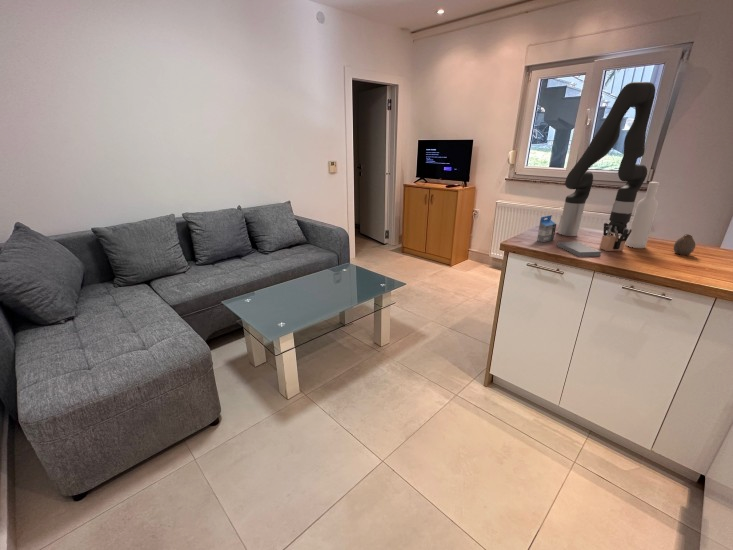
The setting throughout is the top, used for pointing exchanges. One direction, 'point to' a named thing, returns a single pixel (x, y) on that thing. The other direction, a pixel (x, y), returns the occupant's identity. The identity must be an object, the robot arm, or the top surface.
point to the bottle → (643, 218)
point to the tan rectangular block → (610, 243)
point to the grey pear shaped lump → (684, 245)
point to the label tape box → (546, 229)
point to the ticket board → (579, 249)
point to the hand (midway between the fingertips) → (611, 247)
